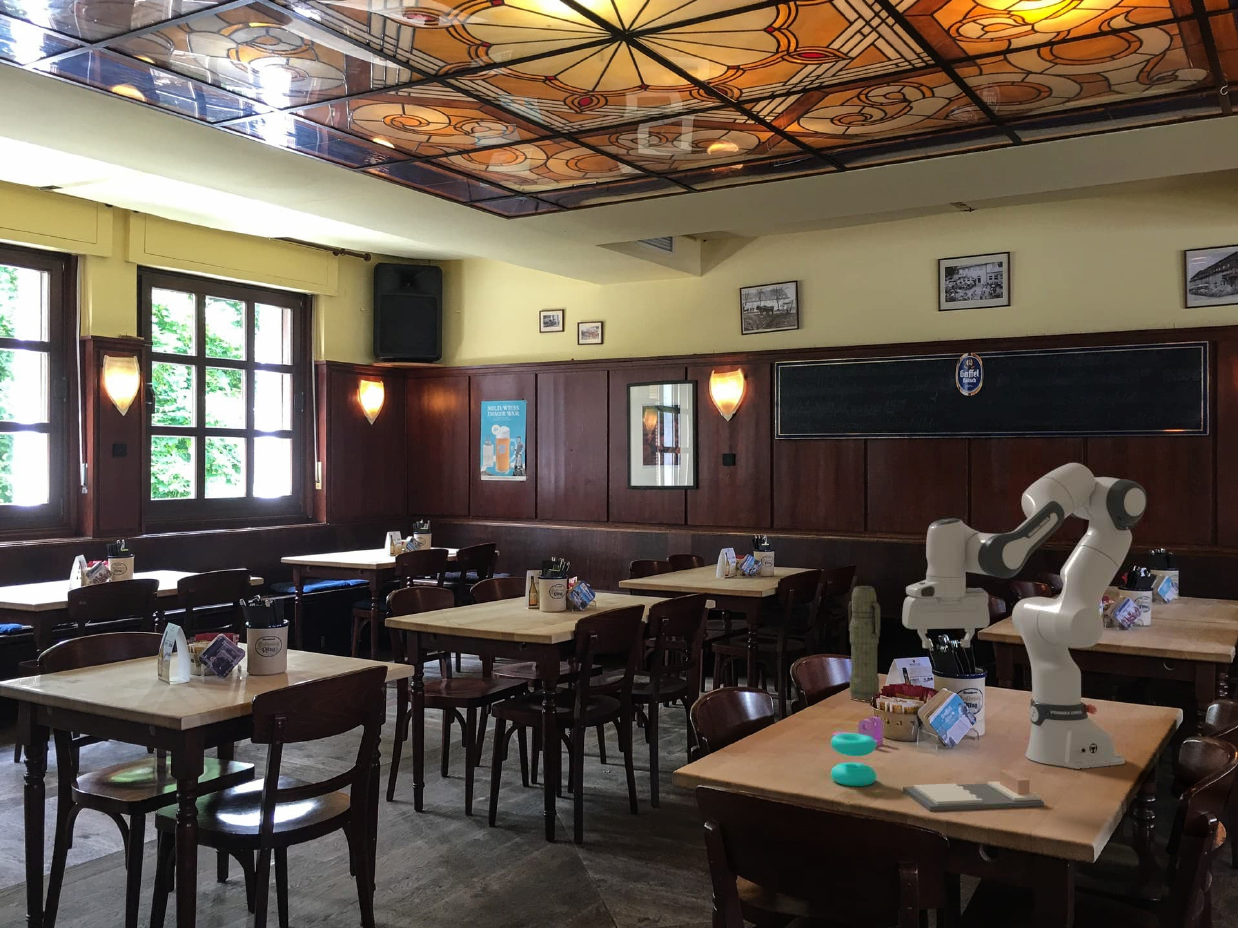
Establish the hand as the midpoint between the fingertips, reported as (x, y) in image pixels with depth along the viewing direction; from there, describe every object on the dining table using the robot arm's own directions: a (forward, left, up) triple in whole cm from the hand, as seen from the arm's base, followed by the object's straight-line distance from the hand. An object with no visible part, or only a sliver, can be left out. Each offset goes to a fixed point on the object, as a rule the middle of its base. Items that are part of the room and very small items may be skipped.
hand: (946, 647), depth 249 cm
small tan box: (-6, +20, -28) cm, 35 cm away
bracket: (+11, -31, -30) cm, 44 cm away
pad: (+4, +20, -29) cm, 35 cm away
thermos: (-11, -83, -29) cm, 89 cm away
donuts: (+24, +4, -29) cm, 38 cm away
